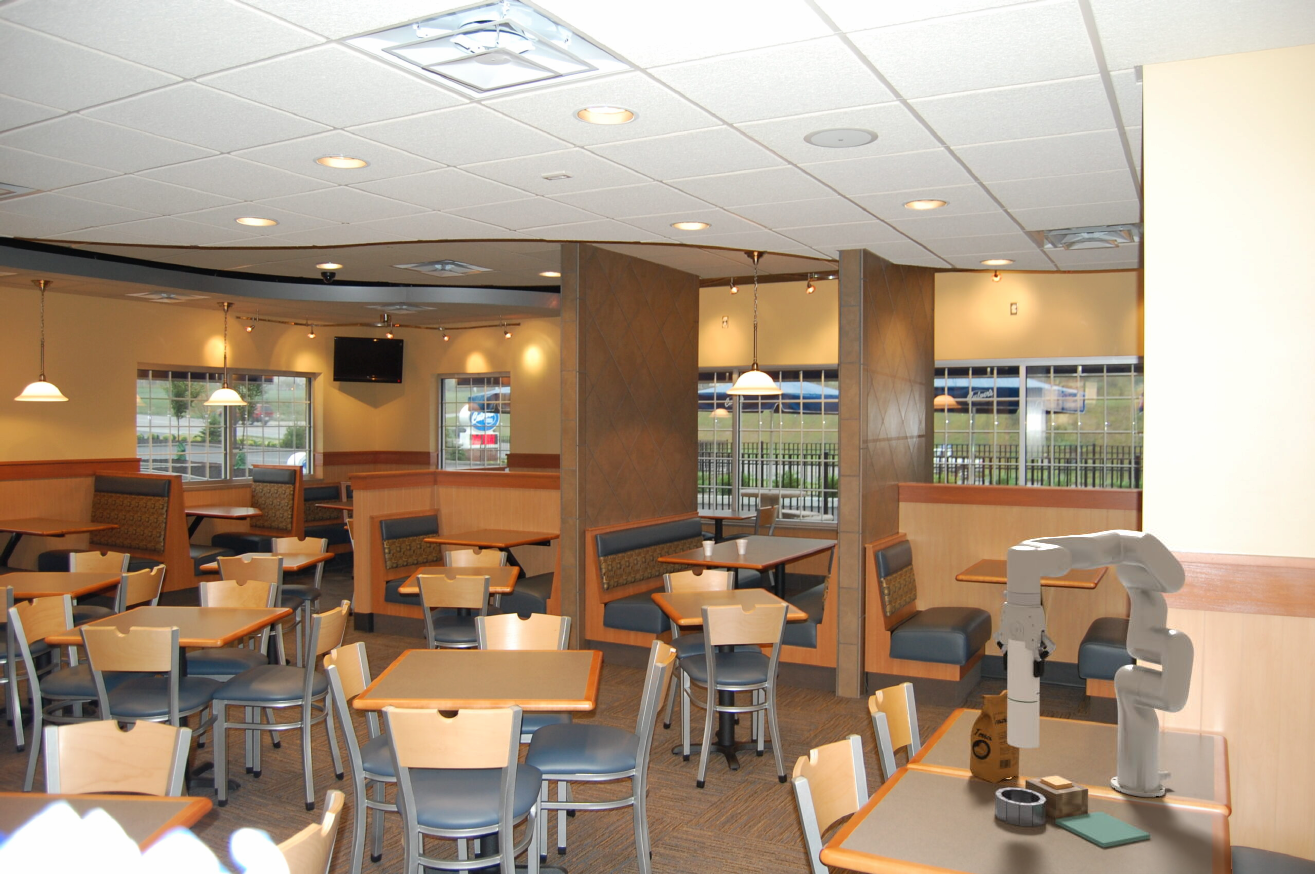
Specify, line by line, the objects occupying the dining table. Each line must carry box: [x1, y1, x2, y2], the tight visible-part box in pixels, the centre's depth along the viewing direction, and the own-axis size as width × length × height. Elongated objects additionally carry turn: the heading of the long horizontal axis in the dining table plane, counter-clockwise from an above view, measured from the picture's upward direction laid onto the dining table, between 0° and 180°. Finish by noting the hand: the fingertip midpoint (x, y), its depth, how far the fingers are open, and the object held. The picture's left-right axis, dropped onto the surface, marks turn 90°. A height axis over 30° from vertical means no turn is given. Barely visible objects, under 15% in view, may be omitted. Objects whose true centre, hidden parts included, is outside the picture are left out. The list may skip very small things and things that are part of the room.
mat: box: [1055, 811, 1151, 848], centre depth 224 cm, size 14×14×1 cm
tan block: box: [1040, 775, 1073, 790], centre depth 237 cm, size 5×5×6 cm
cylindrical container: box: [1006, 639, 1041, 749], centre depth 232 cm, size 7×7×25 cm
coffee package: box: [969, 689, 1020, 784], centre depth 260 cm, size 10×12×22 cm
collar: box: [994, 787, 1047, 828], centre depth 232 cm, size 11×11×5 cm
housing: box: [1024, 774, 1089, 820], centre depth 237 cm, size 10×10×6 cm
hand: (1023, 672), depth 232 cm, fingers closed on cylindrical container, 7 cm apart
